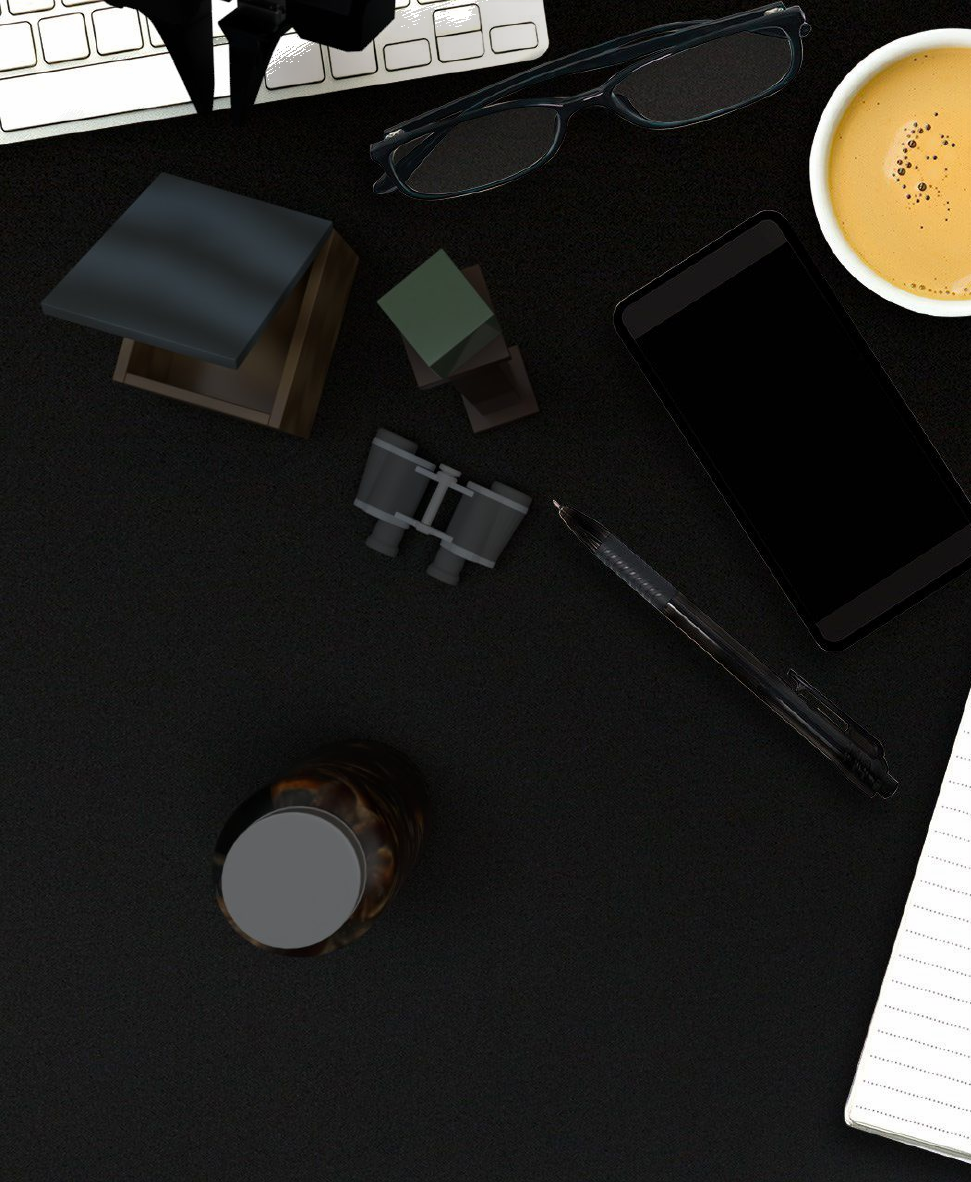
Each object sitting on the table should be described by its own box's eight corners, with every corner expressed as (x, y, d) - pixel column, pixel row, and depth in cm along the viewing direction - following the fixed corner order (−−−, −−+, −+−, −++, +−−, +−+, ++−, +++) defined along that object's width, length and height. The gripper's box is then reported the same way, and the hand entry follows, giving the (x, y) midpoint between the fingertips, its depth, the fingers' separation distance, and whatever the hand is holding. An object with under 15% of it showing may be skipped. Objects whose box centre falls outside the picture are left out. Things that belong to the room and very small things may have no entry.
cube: (393, 319, 54) (376, 301, 50) (454, 270, 54) (441, 247, 50) (442, 381, 54) (428, 367, 50) (503, 331, 54) (494, 314, 50)
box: (308, 440, 76) (278, 429, 70) (156, 395, 77) (111, 380, 70) (360, 257, 76) (334, 228, 69) (206, 212, 76) (165, 179, 69)
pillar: (453, 369, 76) (386, 295, 54) (518, 346, 76) (478, 262, 54) (475, 435, 76) (418, 388, 54) (541, 412, 76) (510, 356, 54)
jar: (296, 719, 77) (219, 759, 62) (450, 760, 77) (410, 810, 62) (257, 873, 78) (172, 950, 63) (410, 914, 78) (361, 1001, 63)
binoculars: (535, 499, 76) (531, 496, 73) (488, 599, 77) (482, 601, 73) (384, 429, 76) (373, 423, 73) (339, 530, 77) (325, 528, 73)
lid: (237, 370, 60) (235, 360, 60) (43, 314, 60) (40, 302, 60) (333, 232, 69) (332, 221, 68) (163, 182, 69) (161, 171, 68)
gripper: (-96, -219, 45) (-10, 132, 57) (319, -101, 45) (321, 229, 57) (50, -261, 53) (100, 58, 65) (406, -159, 53) (392, 142, 64)
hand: (223, 120), depth 62 cm, fingers closed
